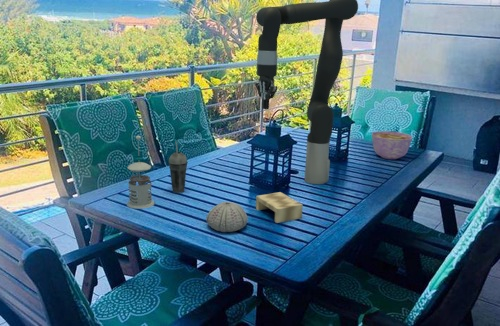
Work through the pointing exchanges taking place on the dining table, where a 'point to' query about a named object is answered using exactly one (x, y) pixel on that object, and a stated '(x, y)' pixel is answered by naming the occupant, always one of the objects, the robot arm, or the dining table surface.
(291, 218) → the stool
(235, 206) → the sea urchin shell
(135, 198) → the french press
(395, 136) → the bowl of food
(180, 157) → the beverage cup
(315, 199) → the dining table surface
